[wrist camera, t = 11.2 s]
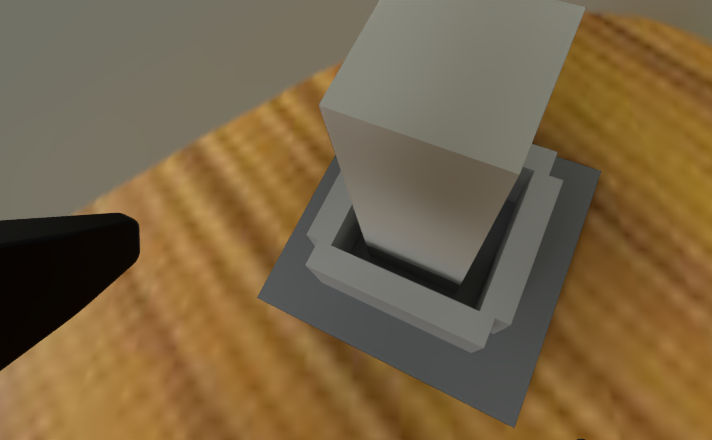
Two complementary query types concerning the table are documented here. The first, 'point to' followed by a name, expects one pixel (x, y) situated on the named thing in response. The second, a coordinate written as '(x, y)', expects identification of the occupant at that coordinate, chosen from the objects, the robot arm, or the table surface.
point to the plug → (442, 121)
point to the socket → (435, 304)
